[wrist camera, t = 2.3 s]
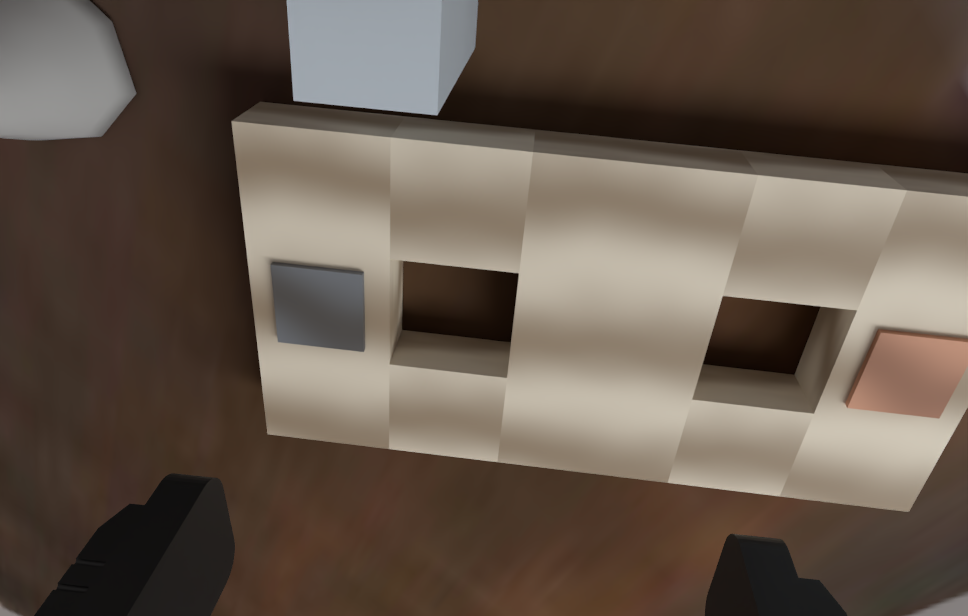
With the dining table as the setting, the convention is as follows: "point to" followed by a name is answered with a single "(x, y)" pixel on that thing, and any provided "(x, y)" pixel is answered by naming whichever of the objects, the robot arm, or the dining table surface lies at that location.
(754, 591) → the robot arm
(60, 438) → the dining table surface
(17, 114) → the flask
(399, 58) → the plug
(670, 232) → the socket block
